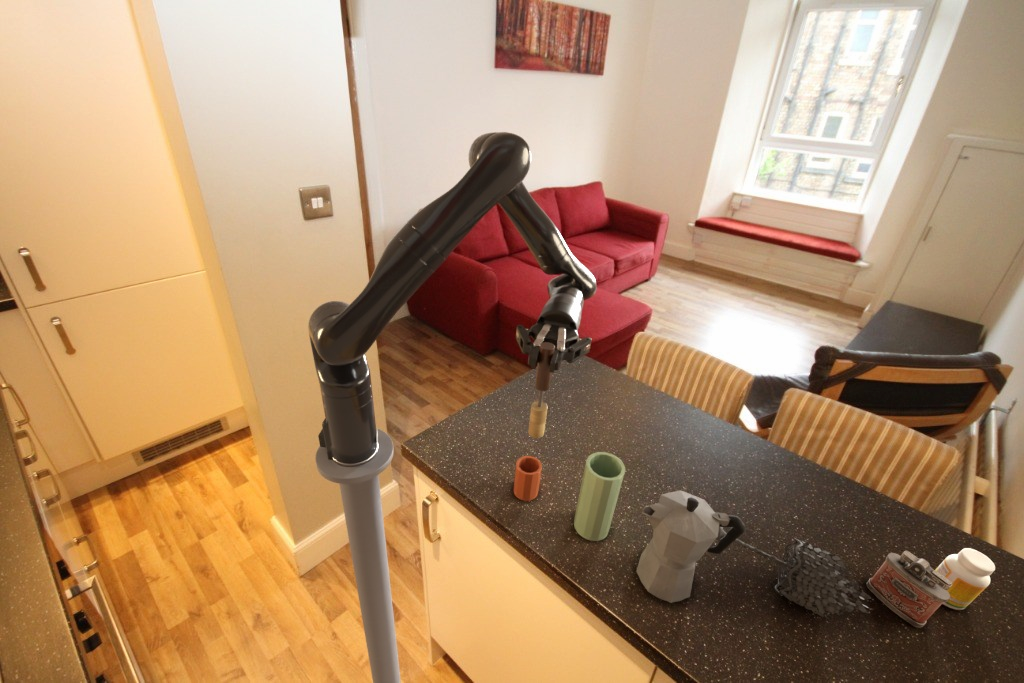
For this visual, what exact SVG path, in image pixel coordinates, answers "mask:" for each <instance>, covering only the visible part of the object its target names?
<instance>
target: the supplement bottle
mask: <svg viewBox="0 0 1024 683" xmlns="http://www.w3.org/2000/svg"><path fill="white" fill-rule="evenodd" d="M935 570H936V571H937V572H938V573H940V574H941V575H943V576H944V577H945V578H947V579H948V580H949V581H951V583H952V586H951V587H950V588H949V589H948V590H947V591H948V593H949V594H950V598H949V600H948V601H947V602H945V603H942V604H941V605H943V606H945V607H948V608H949V609H953V610H956V611H961V610H965V609H967V607H968V606H969V605H970V604H972V603H973V601H974V600H975V599H976V598H977V597H978V596H979V595H980V594H981V593H982V592H984V591H985V589H987V588H988V587H989V585H990V584H991V577H990V576H991V575H992V574H993V573H994V572H995V571H996V565H995V563H994V562H993V561H992V560H991V558H989V557H988V556H987V555H986V554H984V553H982V552H980V551H978V550H976V549H974V548H970V547H964V548H962V549H961V550H960V551H959V552H958V553H953V554H952V553H951V554H949V555H948V556H946V557H945V559H943V561H942V562H941V563H940V564H939V565H938V566H937V567H936V568H935Z"/></svg>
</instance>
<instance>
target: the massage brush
mask: <svg viewBox="0 0 1024 683" xmlns="http://www.w3.org/2000/svg"><path fill="white" fill-rule="evenodd" d="M727 533H728V532H726V531H725V529H724V527H719V531H718V537H717V538H716V539H715V541H716V540H720V539H721V538H722V537H724V536H725V535H726V534H727ZM792 538H793V542H789V543H787V544H786V546H784V547H785V548H784V555H783V556H782V560H780V559H778V558H777V557H776V556H775V555H770V554H769V553H766V552H764V551H762V550H761V549H758V547H754V546H753V545H750V544H748V543H745V542H743V541H742V540H741V539H739V538H737V539H736V540H735V541H734V542H733V543H736V544H737V545H739V546H740V547H743V548H745V549H748V550H749V551H751V552H754V553H755V554H757V555H759V556H761V557H763V558H764V559H768V560H770V561H773V562H774V563H775V564H776V565H778V566H777V575H778V576H777V584H775V585H774V590H775V591H776V592H777V593H778V594H780V595H781V596H783V597H784V598H786V599H788V601H790V602H794V603H795V604H796V605H799V606H801V607H804V608H805V609H806V610H809V611H810V612H811V611H812V613H814V614H816V615H818V616H820V617H821V618H826V619H827V620H828V619H829V617H828V616H829V615H830V614H832V615H834V614H836V615H838V616H839V615H842V614H843V613H844V612H848V613H851V612H853V613H854V614H855V613H856V612H858V611H861V612H862V613H868V614H871V612H870V611H868V610H867V609H870V610H871V611H873V608H872V607H871V608H870V607H869V606H867V605H865V604H863V602H862V601H866V602H867V603H868V602H870V601H869V600H870V599H871V600H872V601H875V599H874V598H872V597H871V596H870V595H869V594H867V593H866V592H865V591H864V590H863V586H860V584H859V583H858V582H856V581H855V579H854V575H853V572H851V571H849V569H848V567H849V564H848V563H847V562H845V560H844V559H841V558H840V557H839V556H838V555H836V554H832V553H830V552H829V551H827V550H824V549H821V548H820V547H818V546H814V545H812V544H811V543H809V542H806V541H805V540H802V539H798V538H795V537H792ZM795 545H796V546H795ZM789 549H790V550H789ZM845 565H846V566H845ZM850 576H851V577H852V578H851V577H850ZM849 579H851V580H849ZM779 586H781V587H779ZM778 588H779V589H778ZM860 588H861V589H860ZM847 594H849V595H852V597H853V598H856V599H857V600H855V599H853V598H852V597H849V595H847ZM858 598H859V599H858ZM860 599H861V600H862V601H861V600H860ZM854 602H855V603H854ZM866 608H867V609H866ZM840 610H843V611H841V612H840ZM828 612H829V613H828Z"/></svg>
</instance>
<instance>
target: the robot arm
mask: <svg viewBox="0 0 1024 683" xmlns="http://www.w3.org/2000/svg"><path fill="white" fill-rule="evenodd" d="M531 164H532V151H531V149H530V146H529V144H528V142H527V141H526V140H525V139H524V138H523V137H521V136H520V135H518V134H515V133H513V132H507V131H499V132H498V131H497V132H496V131H495V132H486V133H483V134H481V135H479V136H478V137H476V138H475V139H474V140H473V141H472V143H471V145H470V146H469V151H468V166H469V169H468V171H467V172H465V174H464V175H463V176H462V178H460V180H459V181H458V182H456V184H455V185H453V187H451V188H450V189H449V190H447V191H446V192H445V193H443V194H441V195H440V196H438V197H436V198H435V199H434V200H432V201H431V202H429V203H428V204H426V205H424V206H423V207H422V208H421V209H420V210H418V211H417V212H416V213H414V215H413V216H411V217H410V218H409V219H408V220H406V222H405V223H404V225H403V226H402V227H401V228H400V229H399V230H398V231H397V232H396V233H395V234H394V236H393V237H391V239H390V240H389V241H388V243H387V244H386V246H385V248H384V249H383V250H382V253H381V255H380V257H379V259H378V262H377V263H376V265H375V267H374V270H373V272H372V274H371V277H370V278H369V280H368V282H367V283H366V285H365V286H364V288H363V289H362V291H361V292H360V293H359V294H358V295H357V296H356V297H355V299H353V301H351V303H347V302H344V301H340V300H332V301H326V302H324V303H321V304H320V305H318V307H316V308H315V309H314V310H313V311H312V313H311V315H310V316H309V320H308V324H307V325H308V328H307V330H308V336H309V341H310V346H311V352H312V357H313V362H314V368H315V372H316V377H317V380H318V385H319V390H320V394H321V395H320V396H321V400H322V405H323V411H324V412H323V413H324V417H325V418H324V419H323V420H322V423H321V427H322V429H321V430H320V432H319V433H318V435H317V437H318V442H319V447H326V450H327V455H328V460H333V461H334V462H335V463H337V464H338V465H341V466H345V467H355V466H360V465H363V464H365V463H367V462H369V461H370V460H372V459H373V458H374V457H375V456H376V454H377V452H378V441H377V437H378V432H377V433H376V428H377V423H376V415H375V404H374V396H373V394H374V393H373V386H372V376H371V369H370V366H369V363H368V359H367V356H366V353H367V352H368V351H369V350H370V348H372V346H373V345H374V343H375V342H376V341H377V339H378V338H379V336H381V334H382V333H383V331H384V330H385V328H386V327H387V325H388V324H389V323H390V322H391V321H392V319H393V318H394V317H395V316H396V314H397V313H398V312H399V311H400V309H401V308H402V307H403V306H404V305H405V304H406V303H407V302H408V301H409V300H410V299H411V298H412V296H413V295H414V294H415V293H416V292H417V291H418V290H419V289H420V288H421V286H422V285H423V284H424V283H425V282H426V281H427V280H428V279H429V278H430V277H431V276H432V275H433V274H434V273H435V272H436V271H437V270H438V269H439V268H440V266H441V265H442V264H443V263H444V262H445V261H446V260H447V259H448V258H449V256H451V255H452V253H453V252H454V250H456V248H457V247H458V246H459V245H460V244H461V243H462V242H463V241H464V239H465V238H466V237H467V236H469V234H470V233H471V232H472V231H473V230H474V228H475V227H476V226H477V225H478V223H479V222H480V221H481V220H482V219H483V218H484V217H485V216H486V215H487V214H488V213H489V212H490V211H491V210H492V209H494V207H495V206H497V205H499V207H500V208H501V209H502V210H503V211H504V213H505V214H506V216H507V217H508V218H509V220H510V221H511V223H512V224H513V226H514V227H515V229H516V230H517V232H518V233H519V235H520V236H521V238H522V240H523V241H524V243H525V244H526V246H527V248H528V250H529V251H530V253H531V255H532V256H533V258H534V260H535V261H536V263H537V264H538V266H539V268H540V270H541V271H542V272H543V273H544V274H546V275H548V276H549V275H550V276H554V275H555V276H556V275H557V276H556V277H553V278H551V279H550V280H549V282H548V283H547V294H548V300H547V301H546V303H545V304H544V306H543V308H542V310H541V312H540V313H539V317H538V318H537V321H536V323H535V324H533V325H532V326H531V327H530V328H525V326H524V325H522V324H518V325H516V331H515V332H516V333H515V340H516V342H517V344H518V346H519V349H520V351H521V353H522V354H524V355H528V359H527V365H528V366H530V369H532V370H537V366H538V358H539V349H540V344H541V343H543V342H549V343H552V344H554V345H555V351H554V353H553V356H552V359H551V363H550V370H549V372H551V374H554V373H555V371H559V370H560V368H561V365H562V362H563V361H566V362H567V363H568V364H573V363H574V362H576V361H578V360H579V359H581V358H583V357H584V356H586V355H587V354H589V353H590V349H591V344H592V338H591V337H589V336H586V337H584V338H580V335H579V333H578V331H579V328H580V326H581V321H582V312H583V307H584V301H586V300H590V299H591V298H593V297H594V296H595V294H596V292H597V288H598V286H597V281H596V278H595V276H594V275H593V273H592V272H591V271H590V270H589V269H588V267H586V266H585V265H584V264H583V263H582V262H581V261H580V260H579V259H578V258H577V257H576V256H575V255H574V254H573V253H572V252H571V250H570V248H569V247H568V245H567V242H566V240H565V239H564V238H563V236H562V234H561V231H559V229H558V226H556V224H555V223H554V222H553V220H552V219H551V218H550V217H549V215H547V213H546V212H545V210H544V209H542V207H540V205H539V204H538V203H537V202H536V200H535V198H533V197H532V196H533V195H532V194H531V193H530V192H529V190H528V189H527V186H526V185H525V184H524V180H525V178H526V177H527V175H528V174H529V171H530V168H531ZM531 338H532V339H531ZM532 340H533V341H534V342H532Z"/></svg>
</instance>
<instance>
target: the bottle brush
mask: <svg viewBox="0 0 1024 683" xmlns="http://www.w3.org/2000/svg"><path fill="white" fill-rule="evenodd" d="M554 351H555V345H554V344H552V343H549V342H543V343H541V344H540V349H539V358H538V364H537V366H536V375H535V382H534V388H535V389H536V390H537V391H538V399H537V400H536V401H534V402H532V403H531V406H530V414H529V423H528V431H527V432H528V435H529V436H530V437H531V438H534V439H540V438H542V437H543V436H544V435H545V429H546V422H547V414H548V404H547V403H546V402H544V401H543V399H544V392H547V391H548V390H549V389H550V385H551V379H552V378H551V377H552V373H551V372H549V370H550V363H551V359H552V356H553V353H554Z"/></svg>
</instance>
